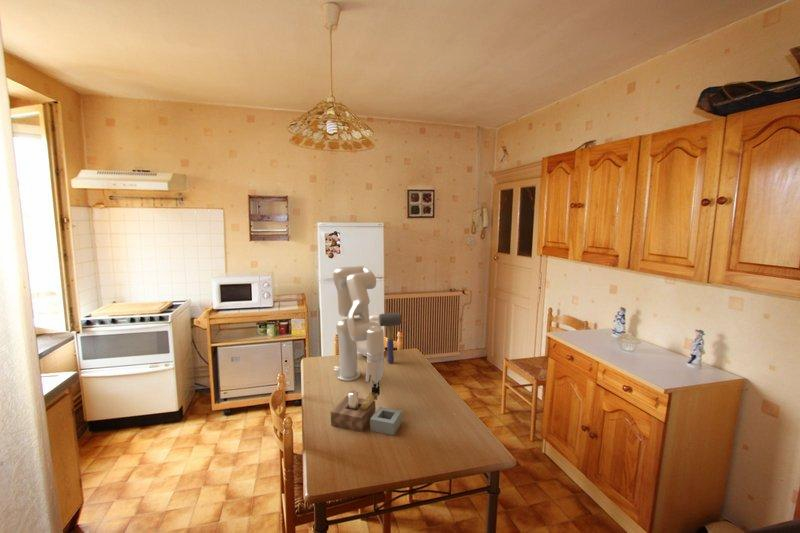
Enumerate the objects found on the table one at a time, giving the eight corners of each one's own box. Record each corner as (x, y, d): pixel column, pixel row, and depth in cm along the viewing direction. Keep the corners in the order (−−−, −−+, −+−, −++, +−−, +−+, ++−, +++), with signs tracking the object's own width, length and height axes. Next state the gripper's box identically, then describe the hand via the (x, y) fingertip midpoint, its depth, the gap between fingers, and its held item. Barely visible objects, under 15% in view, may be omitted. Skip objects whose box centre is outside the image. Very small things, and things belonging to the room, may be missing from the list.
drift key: (359, 409, 152) (359, 403, 151) (370, 397, 161) (370, 391, 161) (367, 410, 150) (367, 404, 150) (377, 398, 160) (377, 393, 160)
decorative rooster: (379, 348, 238) (379, 311, 235) (387, 356, 223) (386, 317, 220) (341, 352, 230) (340, 314, 226) (346, 362, 215) (345, 321, 212)
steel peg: (347, 421, 154) (346, 394, 152) (351, 416, 158) (351, 390, 156) (356, 422, 153) (355, 395, 151) (360, 417, 156) (359, 391, 155)
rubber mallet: (399, 359, 219) (399, 310, 215) (402, 364, 212) (401, 314, 208) (379, 361, 217) (378, 312, 213) (380, 366, 210) (380, 315, 205)
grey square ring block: (370, 430, 147) (370, 418, 146) (380, 417, 156) (379, 406, 156) (393, 435, 144) (393, 423, 143) (401, 421, 153) (401, 410, 152)
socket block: (331, 425, 151) (330, 411, 150) (347, 408, 164) (346, 395, 163) (361, 431, 146) (361, 417, 145) (375, 413, 159) (375, 401, 158)
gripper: (374, 348, 168) (374, 386, 171) (360, 361, 154) (361, 401, 157) (389, 350, 165) (389, 388, 168) (376, 363, 151) (377, 404, 154)
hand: (375, 394), depth 162 cm, fingers closed
